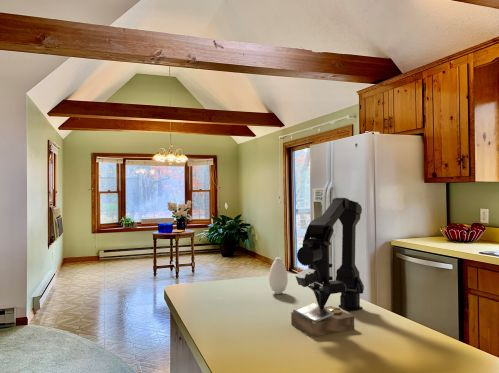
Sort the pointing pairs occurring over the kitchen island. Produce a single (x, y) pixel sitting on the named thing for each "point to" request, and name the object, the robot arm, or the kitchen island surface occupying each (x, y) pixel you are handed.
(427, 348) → the kitchen island surface
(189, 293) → the kitchen island surface
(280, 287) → the sauce bottle
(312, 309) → the steel flap
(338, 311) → the gold metal dome
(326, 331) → the brown box
